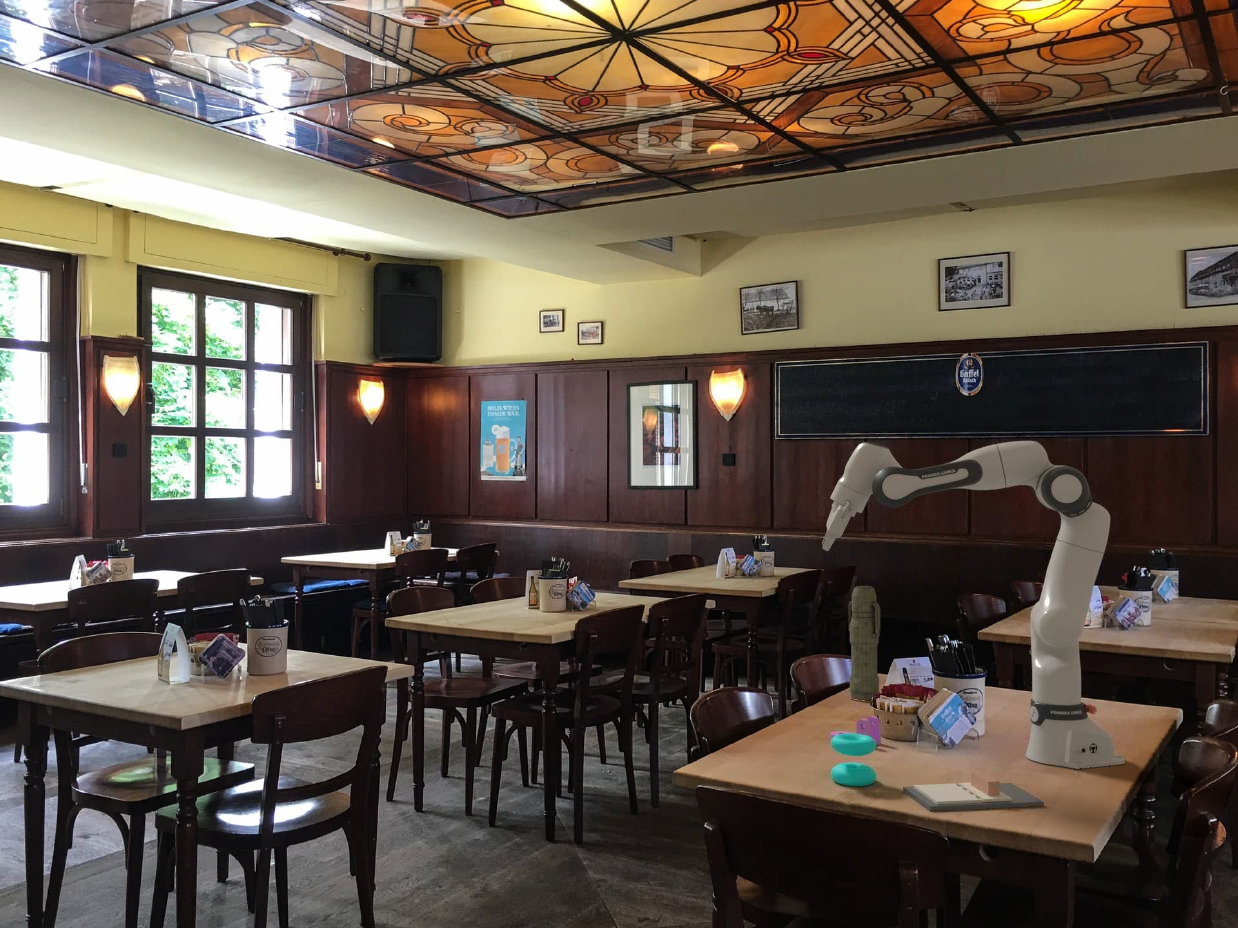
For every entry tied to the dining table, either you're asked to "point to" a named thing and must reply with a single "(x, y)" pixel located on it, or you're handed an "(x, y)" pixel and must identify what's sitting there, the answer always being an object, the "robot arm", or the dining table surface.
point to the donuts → (853, 771)
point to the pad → (967, 797)
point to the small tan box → (985, 787)
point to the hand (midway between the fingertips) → (824, 547)
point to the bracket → (866, 729)
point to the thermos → (864, 642)
